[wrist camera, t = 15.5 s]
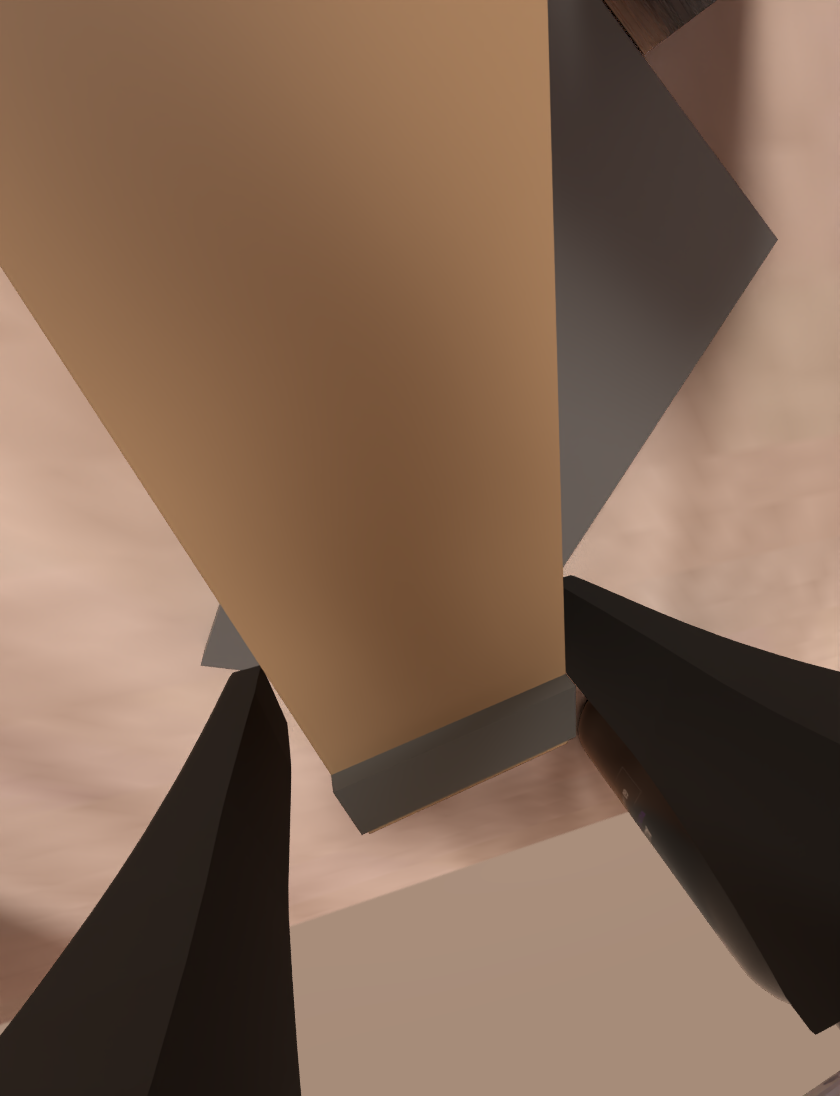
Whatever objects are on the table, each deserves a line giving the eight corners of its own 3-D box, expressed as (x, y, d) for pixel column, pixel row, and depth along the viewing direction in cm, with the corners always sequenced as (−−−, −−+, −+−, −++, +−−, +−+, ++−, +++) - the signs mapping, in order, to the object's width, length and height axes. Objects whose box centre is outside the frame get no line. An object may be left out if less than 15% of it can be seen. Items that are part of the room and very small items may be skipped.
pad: (752, 243, 10) (777, 239, 9) (470, 685, 15) (477, 697, 14) (460, -126, 6) (477, -169, 5) (204, 649, 11) (200, 665, 10)
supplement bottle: (548, 752, 19) (853, 1237, 9) (617, 639, 16) (1166, 1150, 6) (648, 742, 21) (969, 1104, 11) (720, 643, 19) (1221, 1004, 9)
